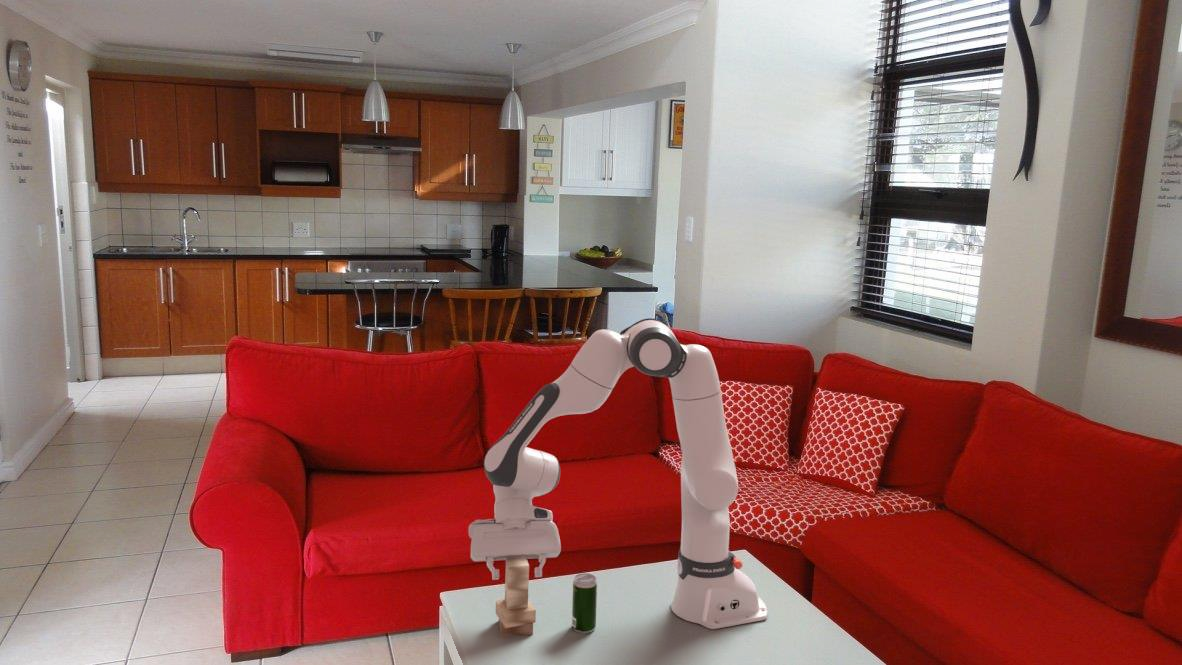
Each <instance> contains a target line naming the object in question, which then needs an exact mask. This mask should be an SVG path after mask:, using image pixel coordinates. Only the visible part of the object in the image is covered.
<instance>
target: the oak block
mask: <svg viewBox="0 0 1182 665" xmlns="http://www.w3.org/2000/svg"><path fill="white" fill-rule="evenodd" d="M536 612H537V610H536V608H535V607H534V606H533V604H532V603H531V601H530V599H528V608H522V609H508V610H507V606H506V603H505V598H504V599H498V600H495V614H496V616H497V617H498V620H499V619H500V621H501V622H502V624H503V626H504V627H505V628H510V627H515V626H520V625H525V624H530V623H533V624H534V623H536V622H537V621H536V617H537V615H536Z"/></svg>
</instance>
